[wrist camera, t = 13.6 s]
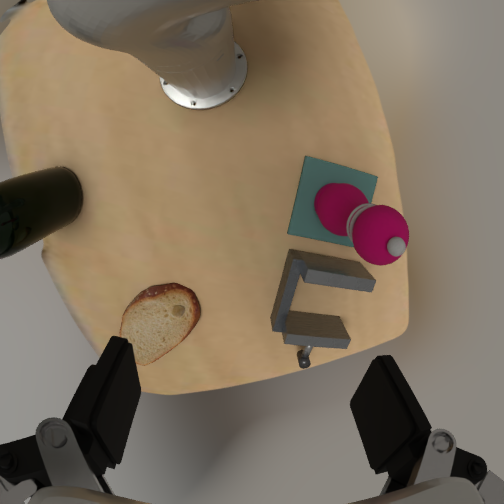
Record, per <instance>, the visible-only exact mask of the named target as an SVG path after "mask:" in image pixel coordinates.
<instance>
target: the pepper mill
mask: <svg viewBox="0 0 504 504" xmlns="http://www.w3.org/2000/svg"><path fill="white" fill-rule="evenodd" d="M314 208H315V211H316V214H317V215H318V217H319V220H320V222H321V223H322V225H323V226H324V227H325V228H326V229H327V230H328V231H330V232H331V233H333V234H335V235H338V236H348V237H349V239H350V240H351V241H352V242H353V245H354V248H355V250H356V251H357V253H358V254H359V255H360V257H362V258H363V259H364V260H365V261H367V262H369V263H371V264H375V265H387V264H391V263H393V262H394V261H396V260H397V259H398V258H400V257H401V255H402V254H403V253H404V251H405V249H406V247H407V244H408V240H409V230H408V225H407V223H406V221H405V219H404V218H403V216H402V215H401V214H400V213H399V212H398V211H397V210H395V209H393V208H391V207H389V206H385V205H375V204H371V203H369V202H368V200H367V198H366V196H365V195H364V193H363V192H362V191H361V190H359V189H358V188H357V187H355V186H353V185H351V184H347V183H330V184H327V185H325V186H323V187H322V188H321V189H320V190H319V191H318V192H317V194H316V197H315V200H314Z"/></svg>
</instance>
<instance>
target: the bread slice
mask: <svg viewBox="0 0 504 504" xmlns="http://www.w3.org/2000/svg"><path fill="white" fill-rule="evenodd" d="M199 317H200V307H199V303H198V301H197V299H196V296H195V293H194V292H193V291H192V290H191V289H189V288H187V287H185V286H183V285H180V284H178V283H170V284H166V285H160V286H152V287H149V288H147V289H146V290H144V291H142V292H140V293H139V294H138V295H137V296H136V297H135V298H134V300H133V301H132V302H131V303H130V304H129V305H128V307H127V308H126V310H125V312H124V314H123V317H122V323H121V329H120V337H122V338H127V339H128V342H129V343H132V345H133V350H134V356H135V362H136V364H139V365H144V366H145V365H147V364H150V363H153V362H154V361H156V360H157V359H159V358H160V357H162V356H163V355H165V354H166V353H168V352H169V351H171V350H172V349H173V348H174V347H176V346H177V345H178V344H179V343H180V342H182V341H183V340H184V339H185V338H186V337H187V336H188V335H189V333H190V332H191V330H192V329H193V328H194V327H195V325H196V324H197V322H198V320H199Z"/></svg>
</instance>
